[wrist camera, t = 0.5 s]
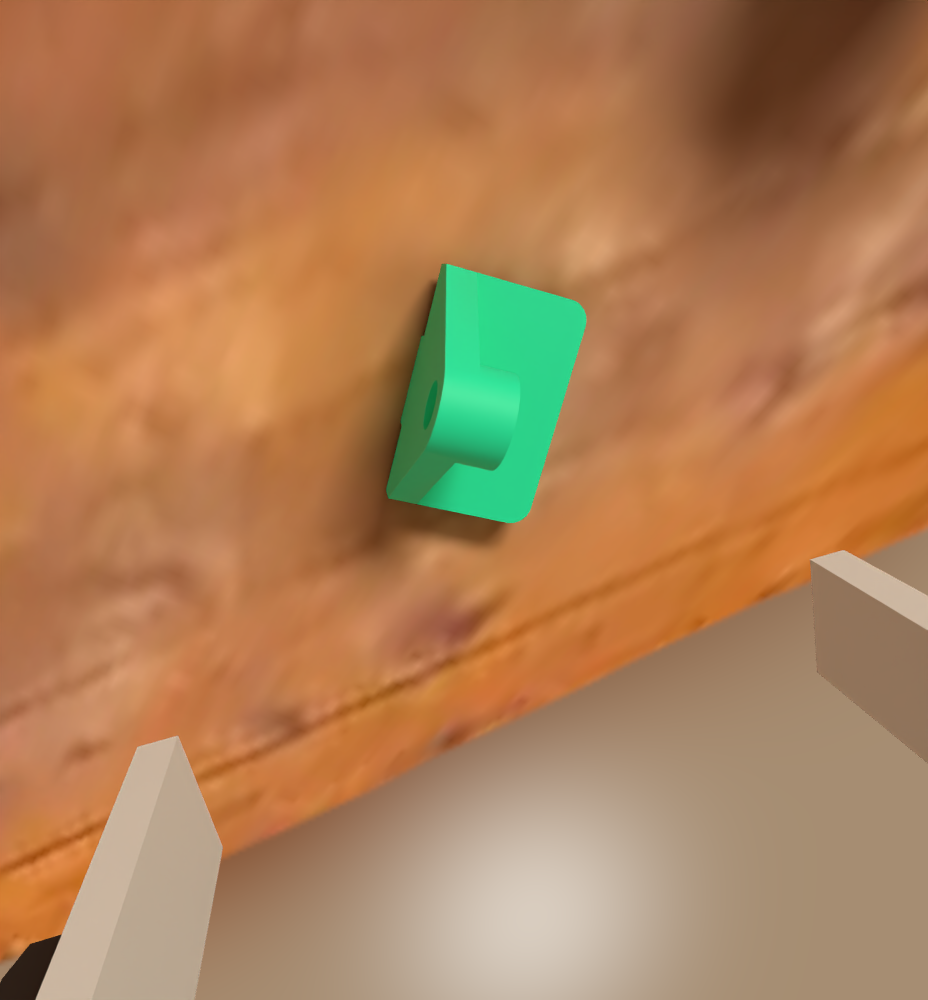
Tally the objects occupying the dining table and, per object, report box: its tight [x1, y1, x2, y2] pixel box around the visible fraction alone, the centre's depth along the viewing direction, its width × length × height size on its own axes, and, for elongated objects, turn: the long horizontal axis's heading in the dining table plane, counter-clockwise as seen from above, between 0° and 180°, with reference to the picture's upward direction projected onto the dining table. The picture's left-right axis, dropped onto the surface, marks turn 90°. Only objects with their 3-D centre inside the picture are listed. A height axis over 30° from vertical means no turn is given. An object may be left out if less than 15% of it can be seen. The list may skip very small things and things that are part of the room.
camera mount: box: [386, 264, 586, 523], centre depth 36 cm, size 12×8×10 cm, turn 165°
